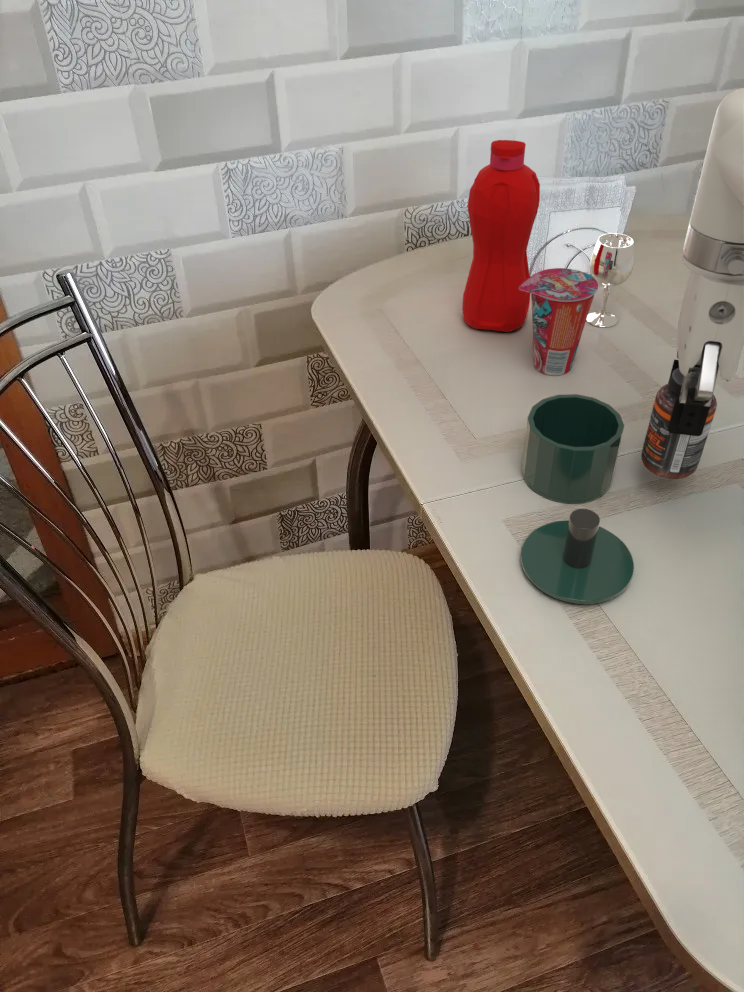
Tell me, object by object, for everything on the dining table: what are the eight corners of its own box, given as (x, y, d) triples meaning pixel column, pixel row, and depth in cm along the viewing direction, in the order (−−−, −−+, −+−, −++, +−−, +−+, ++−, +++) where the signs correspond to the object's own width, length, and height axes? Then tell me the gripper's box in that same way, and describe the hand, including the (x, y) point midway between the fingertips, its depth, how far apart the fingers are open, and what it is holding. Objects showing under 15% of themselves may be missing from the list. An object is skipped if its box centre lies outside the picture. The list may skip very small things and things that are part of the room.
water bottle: (532, 300, 120) (551, 126, 104) (522, 337, 112) (541, 156, 96) (471, 294, 122) (480, 123, 106) (458, 330, 115) (465, 151, 98)
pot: (601, 445, 94) (612, 393, 89) (620, 502, 87) (633, 448, 82) (516, 447, 94) (522, 395, 89) (528, 504, 87) (535, 451, 82)
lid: (617, 526, 84) (629, 479, 79) (644, 607, 76) (658, 559, 71) (513, 529, 84) (518, 482, 80) (528, 609, 76) (535, 562, 72)
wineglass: (629, 325, 114) (646, 245, 106) (593, 332, 113) (607, 252, 105) (609, 307, 118) (624, 228, 110) (574, 313, 117) (586, 235, 109)
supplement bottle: (629, 453, 88) (649, 366, 80) (676, 442, 89) (700, 354, 81) (659, 487, 83) (684, 398, 76) (708, 474, 85) (737, 385, 77)
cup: (553, 341, 111) (564, 261, 103) (597, 368, 106) (612, 286, 98) (502, 363, 108) (509, 281, 100) (545, 392, 102) (556, 308, 94)
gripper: (788, 296, 63) (728, 471, 75) (765, 209, 75) (716, 371, 87) (688, 288, 64) (644, 461, 76) (681, 204, 76) (644, 364, 88)
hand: (683, 411), depth 81 cm, fingers closed on supplement bottle, 6 cm apart
